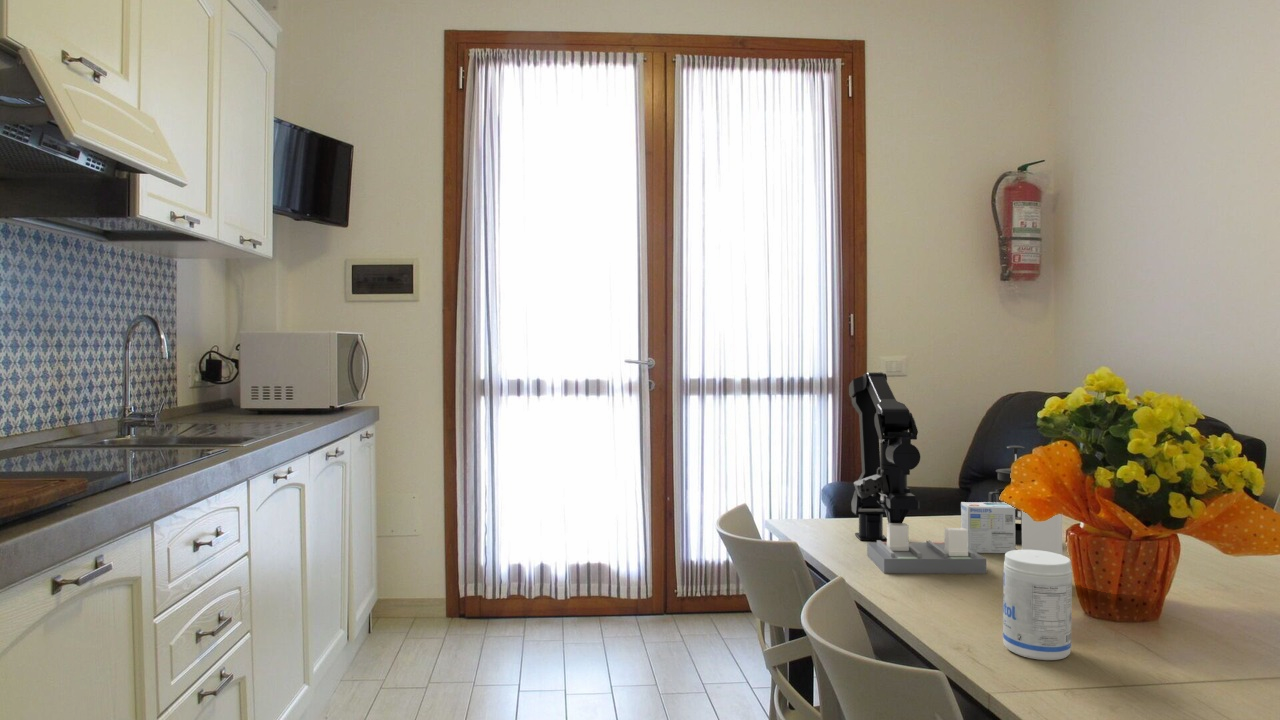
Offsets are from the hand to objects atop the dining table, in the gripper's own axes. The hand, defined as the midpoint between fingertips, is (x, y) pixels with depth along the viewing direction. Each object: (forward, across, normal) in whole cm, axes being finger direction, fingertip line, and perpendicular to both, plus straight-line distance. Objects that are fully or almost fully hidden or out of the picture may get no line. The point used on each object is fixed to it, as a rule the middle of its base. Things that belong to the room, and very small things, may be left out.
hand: (893, 534), depth 184 cm
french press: (+6, -19, +34) cm, 40 cm away
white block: (+3, +3, 0) cm, 4 cm away
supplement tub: (+6, +56, +7) cm, 56 cm away
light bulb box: (+6, -9, +24) cm, 26 cm away
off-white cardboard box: (+6, +19, +24) cm, 31 cm away
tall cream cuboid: (+3, +8, +11) cm, 14 cm away
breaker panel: (+6, +4, +6) cm, 9 cm away
